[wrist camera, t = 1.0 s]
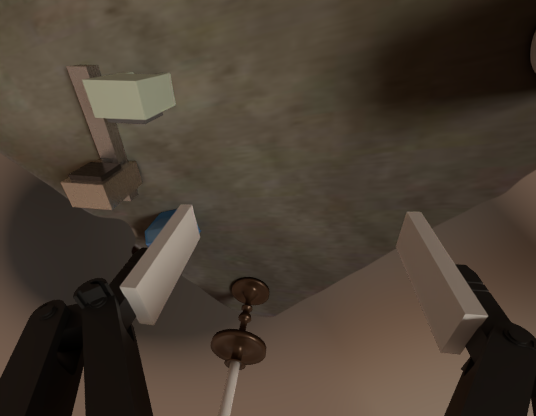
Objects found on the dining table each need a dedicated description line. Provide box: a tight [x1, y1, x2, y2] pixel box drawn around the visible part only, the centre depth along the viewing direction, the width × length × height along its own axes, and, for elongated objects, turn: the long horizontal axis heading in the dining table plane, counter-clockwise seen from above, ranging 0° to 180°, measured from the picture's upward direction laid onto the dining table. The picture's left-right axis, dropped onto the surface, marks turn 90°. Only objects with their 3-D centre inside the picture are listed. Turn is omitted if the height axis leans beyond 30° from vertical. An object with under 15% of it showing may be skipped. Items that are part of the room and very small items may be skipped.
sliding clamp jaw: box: [82, 72, 176, 124], centre depth 35 cm, size 5×7×9 cm
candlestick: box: [211, 277, 269, 416], centre depth 47 cm, size 11×11×35 cm
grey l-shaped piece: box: [61, 65, 142, 210], centre depth 40 cm, size 22×7×10 cm, turn 179°
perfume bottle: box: [145, 209, 201, 248], centre depth 47 cm, size 6×6×12 cm
